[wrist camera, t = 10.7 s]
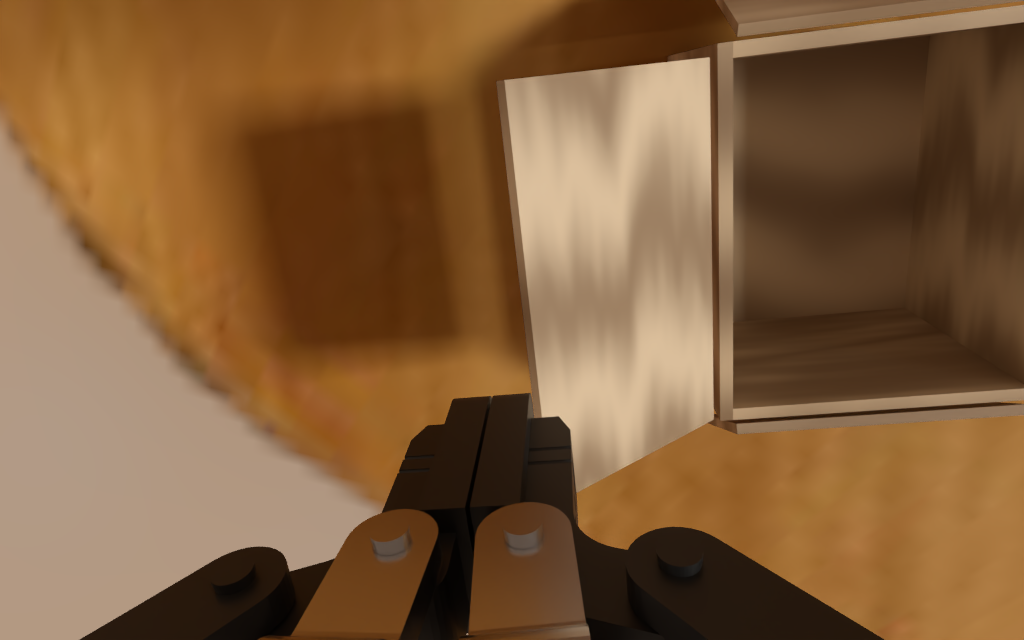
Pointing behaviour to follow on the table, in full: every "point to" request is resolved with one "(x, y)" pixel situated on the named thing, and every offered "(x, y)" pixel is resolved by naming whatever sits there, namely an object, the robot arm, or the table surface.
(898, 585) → the table surface
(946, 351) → the carton
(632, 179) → the front flap
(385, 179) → the table surface
